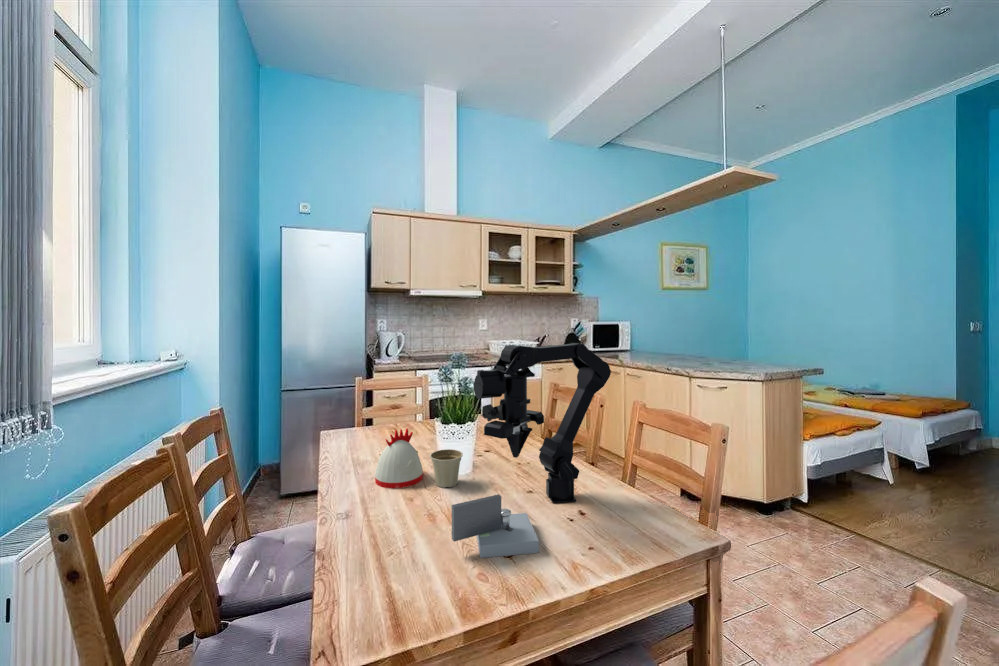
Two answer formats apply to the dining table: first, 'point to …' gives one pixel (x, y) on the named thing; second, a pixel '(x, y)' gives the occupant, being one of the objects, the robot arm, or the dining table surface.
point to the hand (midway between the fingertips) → (515, 457)
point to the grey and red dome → (399, 463)
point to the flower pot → (446, 466)
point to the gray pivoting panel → (478, 517)
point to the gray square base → (510, 539)
